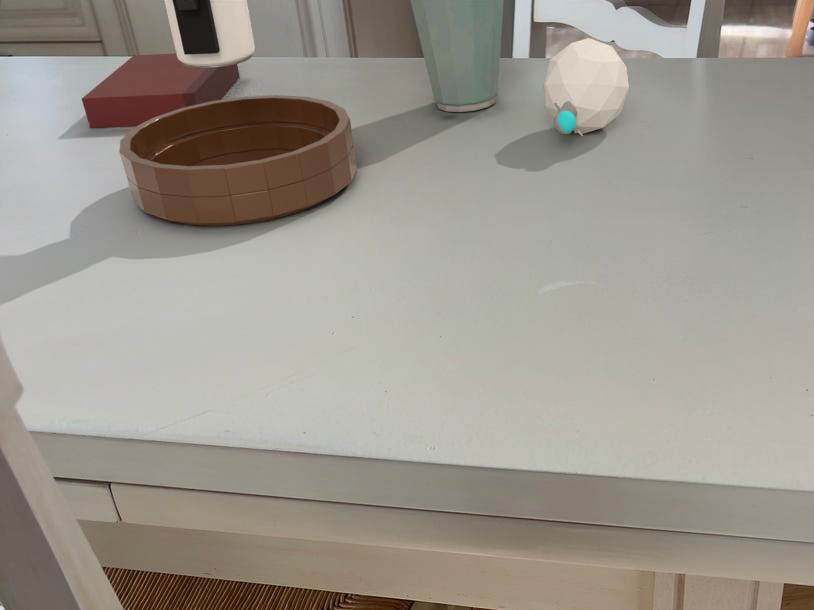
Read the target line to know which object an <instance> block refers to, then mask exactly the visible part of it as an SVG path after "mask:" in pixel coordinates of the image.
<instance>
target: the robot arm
mask: <svg viewBox="0 0 814 610" xmlns="http://www.w3.org/2000/svg"><path fill="white" fill-rule="evenodd" d="M173 5H174V9H175V14H176V18H177V23H178V27H179V32H180V36H181V41H182V46H183V50H184V55H188V54H212V53H218V52H219V51H220V49H219V44H218V39H217V34H216V29H215V24H214V19H213V14H212V9H211V4H210V0H173Z"/></svg>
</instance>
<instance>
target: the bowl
mask: <svg viewBox="0 0 814 610" xmlns="http://www.w3.org/2000/svg"><path fill="white" fill-rule="evenodd" d="M351 122H352V121H351V118H350V116H349V114H348V112H347V111H346V109H345V108H344V107H342V106H339V105H338V104H336V103H333V102H331V101H329V100H325V99H320V98H316V97H310V96H302V95H301V96H300V95H282V94H271V95H251V96H250V95H249V96H240V97H239V96H238V97H233V98H225V99H221V100H217V101H211V102H206V103H202V104H197V105H193V106H189V107H184V108H181V109H177V110H174V111H172V112H169V113H166V114H163V115H160V116H157V117H154V118H152V119H150V120H148V121H146V122H144V123H142V124H140V125H138V126H133V128H131V129H130V131H128V132H127V133H126V134H125V136H123V137H122V138H121V139H120V140H119V155H120V158H121V162H122V167H123V169H124V172H125V176H126V180H127V183H128V187H129V190H130V194H131V197H132V200H133V203H134V204H135V205H136V206H137V207H138V208H140V210H141V211H143V213H146V214H148V215H151V216H154V217H157V218H160V219H163V220H166V221H170V222H173V223H178V224H182V225H191V226H204V227H205V226H207V227H209V226H211V227H214V226H215V227H217V226H218V227H219V226H220V227H221V226H235V225H236V226H237V225H245V224H253V223H259V222H266V221H271V220H275V219H279V218H283V217H287V216H291V215H294V214H297V213H300V212H303V211H306V210H308V209H311V208H313V207H315V206H317V205H319V204H322V203H324V202H326V201H327V200H328V199H330V198H332V197H333V196H335V195H336V194H338V193H339V192H340V191H341V190H343V189H344V188H345V187H347V186H348V185H349V184H350V183H352V181H353V179H354V176H355V173H356V172H357V170H358V166H357V159H356V153H355V145H354V137H353V131H352V130H353V129H352V123H351Z"/></svg>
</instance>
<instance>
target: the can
mask: <svg viewBox="0 0 814 610" xmlns="http://www.w3.org/2000/svg"><path fill="white" fill-rule="evenodd" d="M163 1H164V2H163V3H164V7H165V10H166V15H167V18H168V24H169V28H170V32H171V37H172V41H173V44H174V49H175V53H176V54H177V57H178V60H180V61H181V62H182V63H183V64H184V65H185V66H188V67H192V68H218V67H225V66H230V65H235V64H237V65H238V64H242V63H244V62H246V61H248V60H250V59H252V57H253V55H254V53H255V51H256V45H255V40H254V33H253V29H252V21H251V17H250V10H249V5H248V0H210V4H211V9H212V14H213V19H214V24H215V29H216V34H217V39H218V44H219V49H220V51H219V52H218V53H212V54H188V55H184V50H183V46H182V41H181V36H180V32H179V27H178V23H177V18H176V14H175V9H174V5H173V0H163Z"/></svg>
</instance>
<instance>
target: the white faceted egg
mask: <svg viewBox="0 0 814 610" xmlns="http://www.w3.org/2000/svg"><path fill="white" fill-rule="evenodd" d="M542 87H543V95H544V105H545V108H546V109H547V110H548V112H549V113H550V115H551V116H552V117H553V124H554V128H555V130H556V131H557V132H558V133H560V134H562V135H569V134H572V132H574V134H577V133H578V134H579V135H580V136H581V137H584V135H583V134H588V133H590V132H593V131H597V130H599V129H602V128H604V127H606V126H607V125H608V124H609V123H610V122H612V121H613V120H614V119H616V118H617V117H618V116H619V115H621V113H622V110H623V107H624V104H625V100H626V98H627V96H628V91H629V89H630V85H629V77H628V68H627V66H626V64H625V63H624V61H623V60H622V59H621V57H620V56H619V54H618V52H617V51H616V50H615V49H614V47H613V46H612V45H609V44H607V43H603V42H602V41H598V40H596V39H594V38H590V37H587V38H584V39H580V40H577V41H573V42H571V43H570V44H568V45H567V46H566V47H564V48H563V49H561V51H559V52H558V53H557V54H556V55H554V56H553V57H551V58H550V59H549V62H548V67H547V71H546V74H545V78H544V82H543V86H542Z"/></svg>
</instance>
